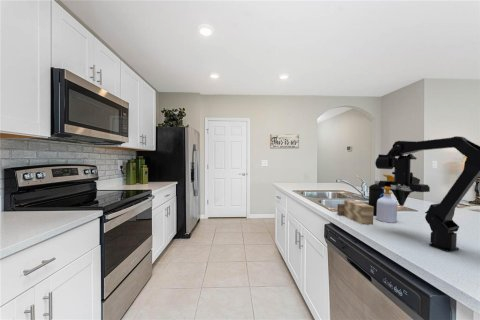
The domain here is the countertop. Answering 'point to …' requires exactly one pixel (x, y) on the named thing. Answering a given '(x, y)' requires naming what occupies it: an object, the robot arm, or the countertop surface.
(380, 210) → the soap bottle
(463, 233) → the countertop surface
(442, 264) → the countertop surface
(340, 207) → the stop block
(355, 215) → the bar
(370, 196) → the aerosol can
